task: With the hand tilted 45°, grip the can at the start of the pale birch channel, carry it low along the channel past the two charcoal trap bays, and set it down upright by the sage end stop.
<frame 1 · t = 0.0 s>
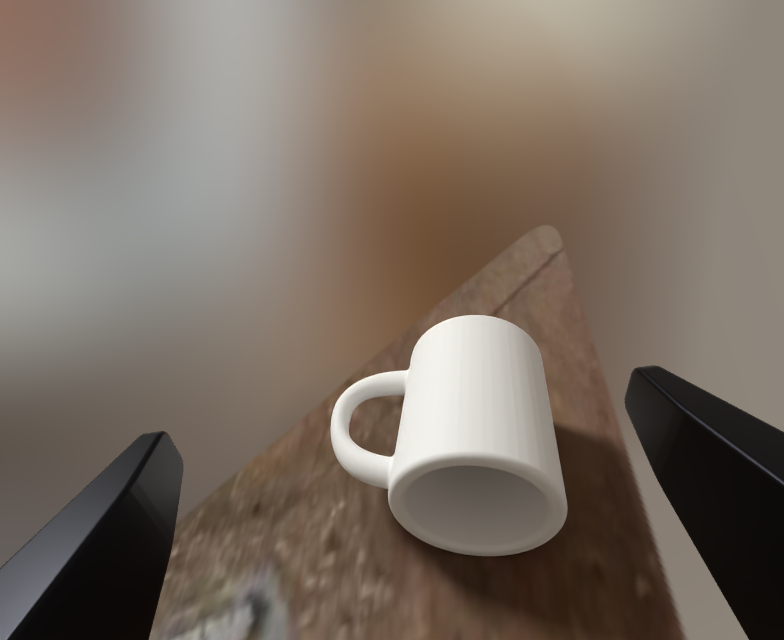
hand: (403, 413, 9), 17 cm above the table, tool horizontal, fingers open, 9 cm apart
mug: (440, 472, 27), on the table
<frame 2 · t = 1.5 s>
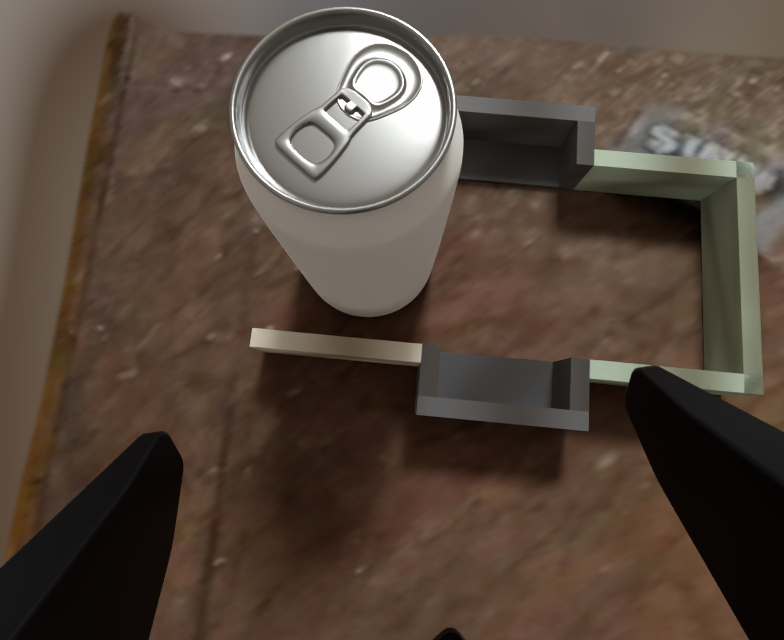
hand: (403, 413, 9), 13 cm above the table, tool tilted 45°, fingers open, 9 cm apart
can: (369, 257, 23), on the table
channel: (369, 255, 23), on the table
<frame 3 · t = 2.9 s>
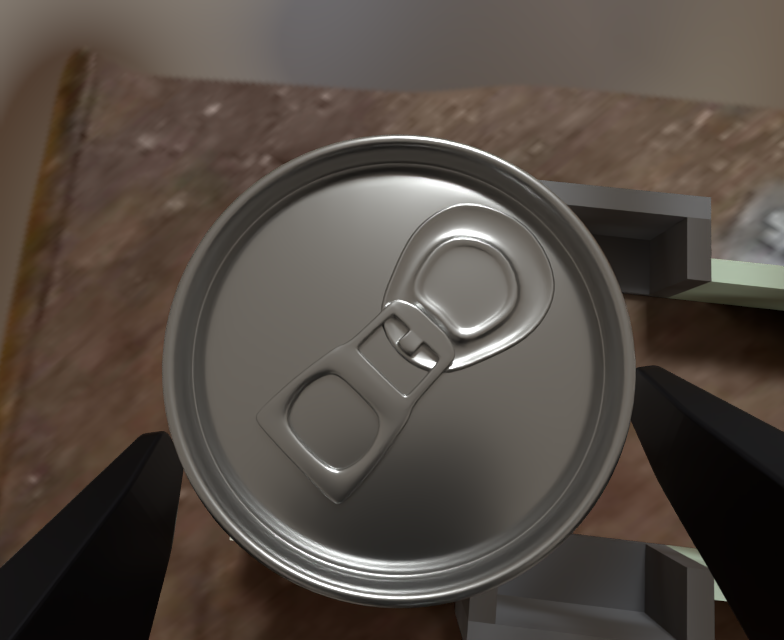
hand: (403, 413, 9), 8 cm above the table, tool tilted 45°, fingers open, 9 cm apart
can: (395, 385, 17), on the table
channel: (395, 384, 17), on the table
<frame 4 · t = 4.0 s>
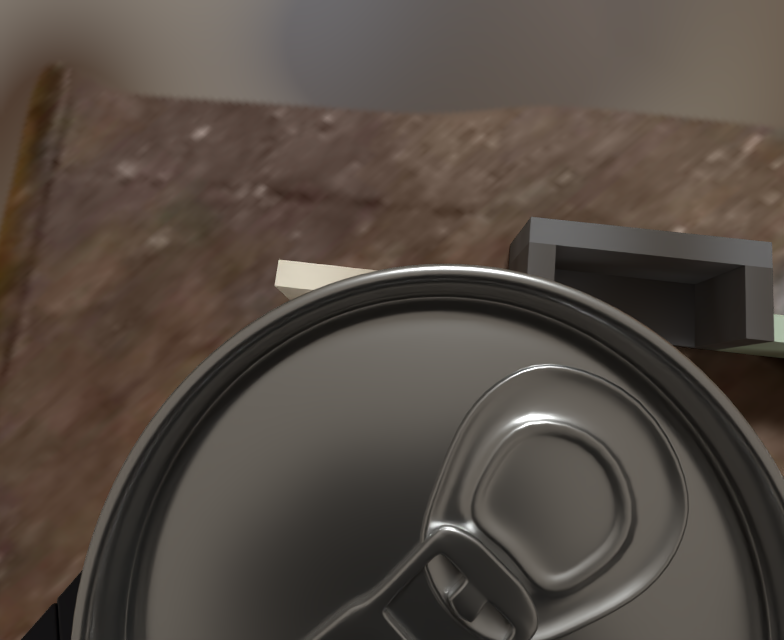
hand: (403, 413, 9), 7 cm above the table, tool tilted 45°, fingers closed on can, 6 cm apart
can: (406, 449, 15), on the table, touching gripper
channel: (406, 450, 15), on the table
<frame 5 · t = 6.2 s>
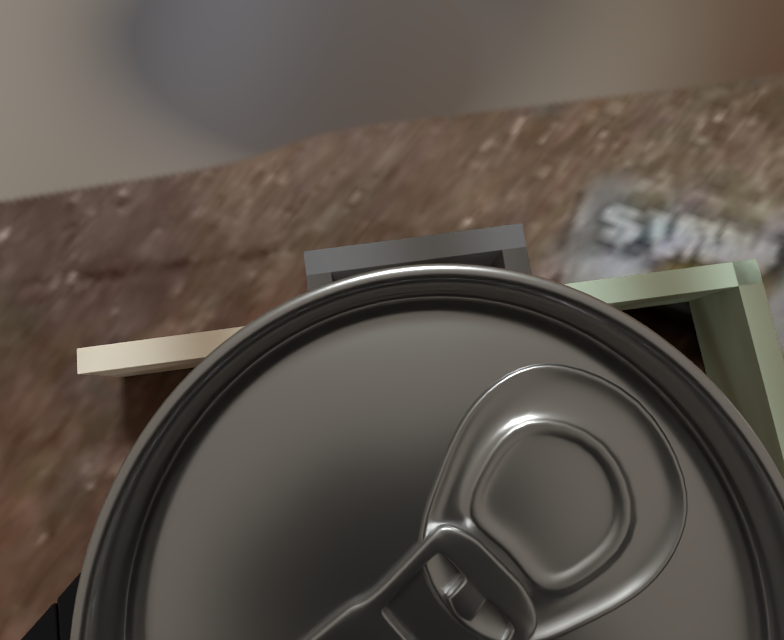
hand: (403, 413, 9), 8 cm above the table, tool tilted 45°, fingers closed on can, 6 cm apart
can: (406, 449, 15), point 1 cm above the table, touching gripper
channel: (257, 487, 16), on the table
when the fingers open (7 cm above the table, at t = 8.4 s): can stays where it is, on the table.
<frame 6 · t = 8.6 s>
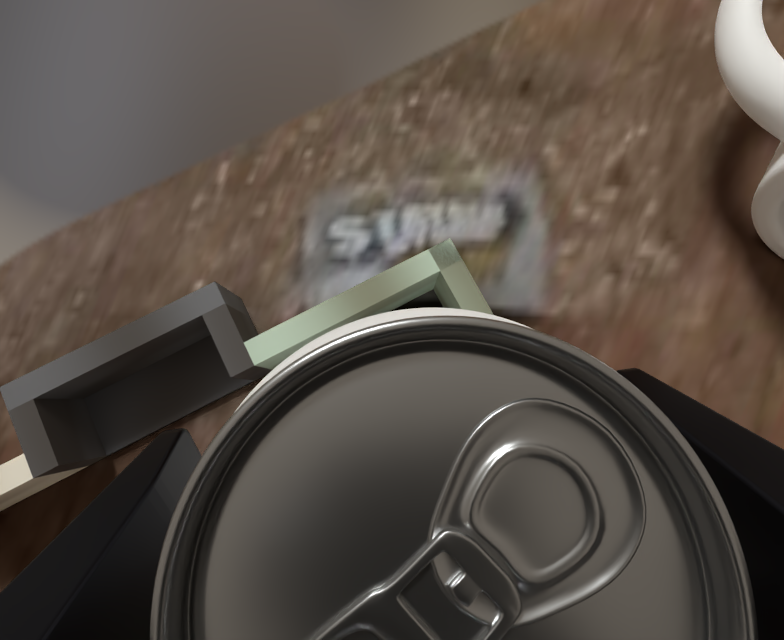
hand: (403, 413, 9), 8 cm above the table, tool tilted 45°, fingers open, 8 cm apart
can: (408, 453, 16), on the table
channel: (56, 633, 15), on the table
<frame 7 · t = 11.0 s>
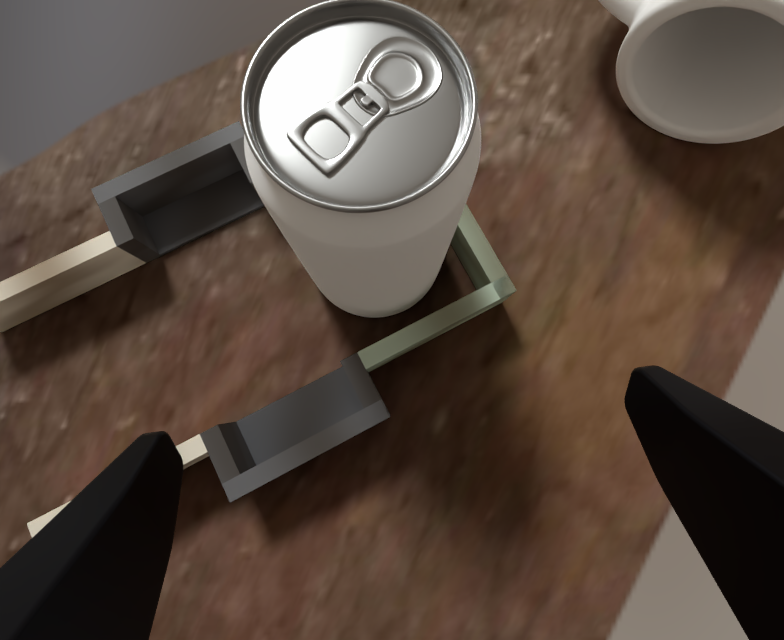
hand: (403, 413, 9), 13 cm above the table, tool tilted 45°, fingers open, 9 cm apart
mug: (658, 45, 25), on the table
can: (375, 256, 23), on the table
channel: (126, 372, 21), on the table
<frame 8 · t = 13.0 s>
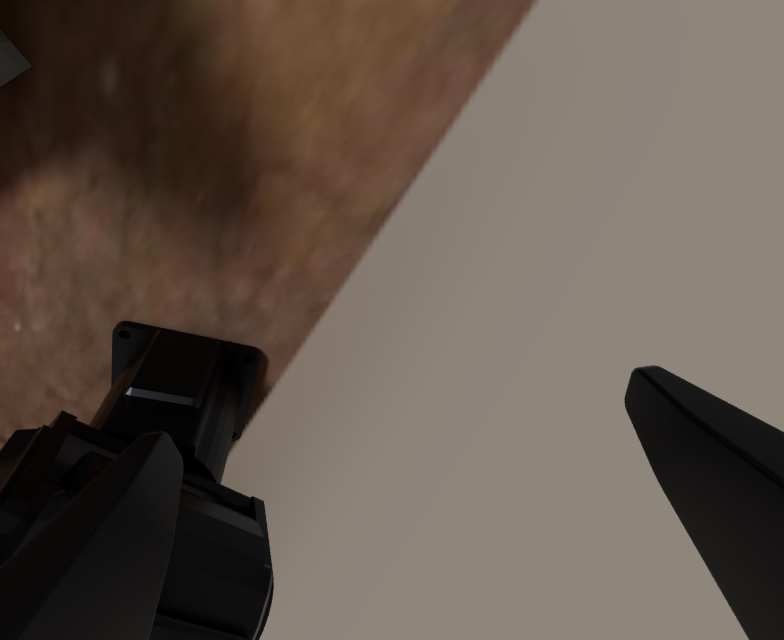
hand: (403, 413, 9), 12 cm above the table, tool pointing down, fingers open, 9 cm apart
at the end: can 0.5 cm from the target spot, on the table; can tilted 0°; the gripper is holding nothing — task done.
